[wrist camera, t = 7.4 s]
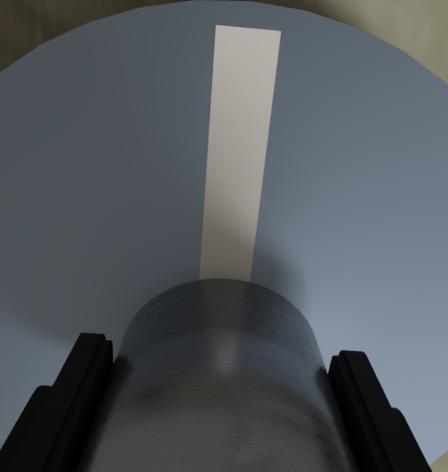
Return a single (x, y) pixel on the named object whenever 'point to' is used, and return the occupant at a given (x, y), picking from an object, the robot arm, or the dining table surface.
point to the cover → (218, 389)
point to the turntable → (226, 189)
